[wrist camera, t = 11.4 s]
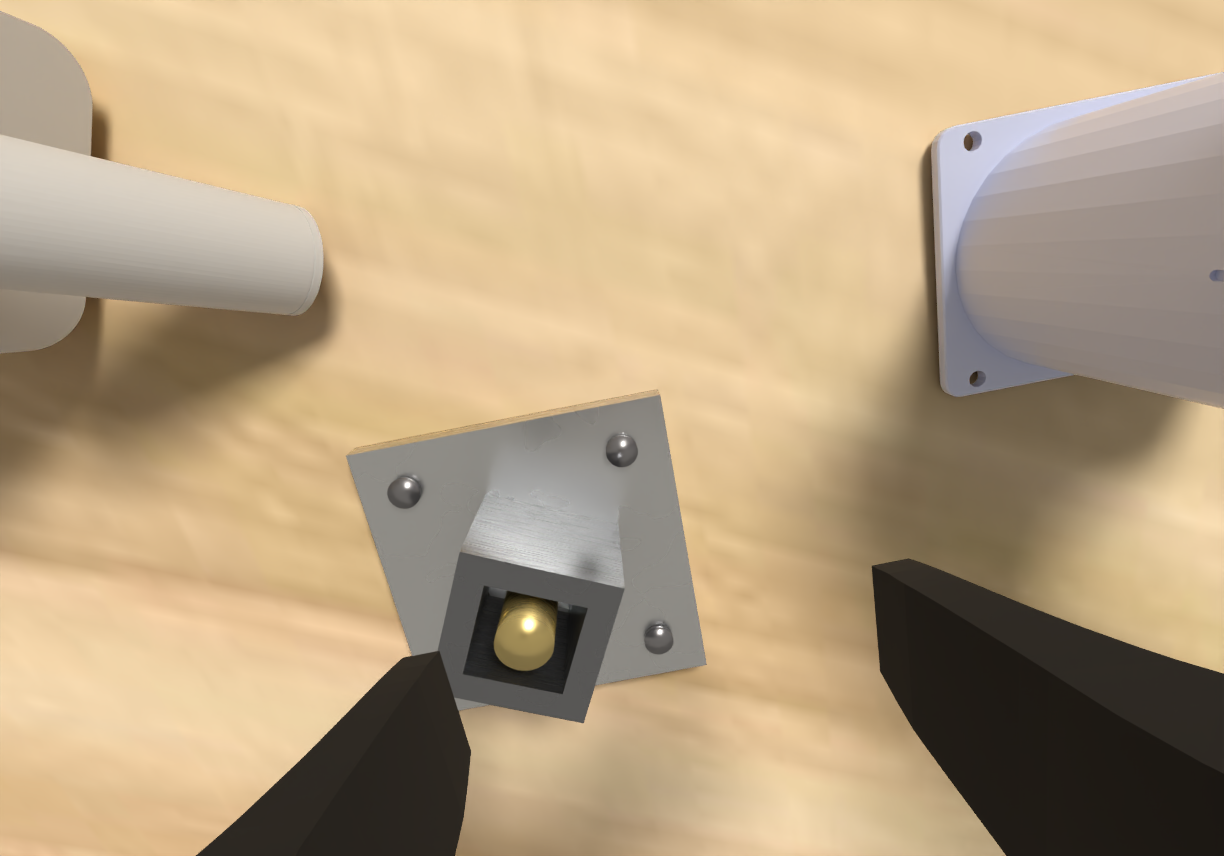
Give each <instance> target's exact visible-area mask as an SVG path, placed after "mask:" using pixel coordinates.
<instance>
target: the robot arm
mask: <svg viewBox="0 0 1224 856" xmlns="http://www.w3.org/2000/svg"><path fill="white" fill-rule="evenodd" d="M967 134H969V135H970V136H971V137H972V139H973V146H972V148H971V150H970V151H968V150H967V149H965V147H964V144H963V142H964V138H965V136H966V135H967ZM931 160H932V186H933V212H934V238H935V264H936V290H937V316H938V342H939V368H940V384H941V388H942V389H943V391H944V392H945V393H947V394H950V395H952V396H955V397H962V396H968V395H973V394H978V393H983V392H988V391H994V390H999V389H1004V388H1009V387H1015V386H1020V385H1025V384H1030V383H1035V382H1041V381H1046V380H1051V379H1056V378H1061V377H1067V376H1072V375H1079V376H1084V377H1088V378H1092V379H1097V380H1101V381H1105V382H1110V383H1114V384H1118V385H1123V386H1127V387H1131V388H1136V389H1140V390H1144V391H1149V392H1153V393H1157V394H1162V395H1166V396H1170V397H1175V398H1179V399H1183V400H1188V401H1192V402H1196V403H1201V404H1205V405H1209V406H1213V407H1218V408H1222V409H1224V72H1221V73H1216V74H1211V75H1206V76H1201V77H1196V78H1191V79H1186V80H1181V81H1176V82H1171V83H1166V84H1161V85H1156V86H1151V87H1147V88H1142V89H1137V90H1132V91H1127V92H1122V93H1117V94H1112V95H1107V96H1102V97H1097V98H1092V99H1087V100H1082V101H1077V102H1072V103H1067V104H1062V105H1057V106H1052V107H1047V108H1042V109H1037V110H1032V111H1027V112H1022V113H1017V114H1012V115H1007V116H1002V117H997V118H992V119H987V120H982V121H977V122H972V123H967V124H962V125H957V126H953V127H950V128H947V129H945V130H943V131H941V132H940V133H939V134H938V135H937V136H936V137H935V139H934V140H933V142H932V148H931ZM976 371H977V373H978V378H977V380H976V381H975V382H974V383H972V384H970V381H969V379H970V376H971V375H972V373H973V372H976ZM872 574H873V587H874V599H875V612H876V624H877V637H878V649H879V662H880V672H881V674H882V675H883V677H884V679H885V681H886V683H887V684H888V686H889V688H890V690H891V692H892V693H893V695H894V697H895V699H896V701H897V702H898V704H899V706H900V708H901V709H902V711H903V713H904V714H905V716H906V718H907V719H908V721H909V723H910V725H911V726H912V728H913V730H914V731H915V732H916V734H917V735H918V737H919V738H920V739H921V741H922V742H923V744H924V745H925V746H926V748H927V749H928V750H929V752H930V753H931V755H932V756H933V757H934V759H935V760H936V761H937V763H938V764H939V765H940V767H941V768H942V770H943V771H944V772H945V774H946V775H947V776H948V778H949V779H950V780H951V782H952V783H953V784H954V786H955V787H956V788H957V790H958V791H959V793H960V794H961V795H962V797H963V798H964V799H965V801H966V802H967V803H968V805H969V806H970V807H971V809H972V810H973V811H974V813H975V814H976V815H977V817H978V818H979V819H980V821H981V822H982V823H983V825H984V826H985V827H986V829H987V830H988V832H989V833H990V834H991V836H992V837H993V838H994V840H995V841H996V842H997V844H998V845H999V846H1000V848H1001V849H1002V850H1003V852H1004V853H1005V854H1006V856H1224V674H1223V673H1219V672H1216V671H1213V670H1209V669H1206V668H1203V667H1199V666H1196V665H1193V664H1189V663H1186V662H1182V661H1179V660H1176V659H1173V658H1170V657H1167V656H1164V655H1160V654H1157V653H1154V652H1151V651H1148V650H1145V649H1142V648H1139V647H1136V646H1134V645H1131V644H1128V643H1125V642H1122V641H1120V640H1117V639H1114V638H1111V637H1108V636H1106V635H1103V634H1100V633H1097V632H1094V631H1092V630H1089V629H1086V628H1083V627H1080V626H1078V625H1075V624H1073V623H1070V622H1067V621H1065V620H1062V619H1059V618H1057V617H1054V616H1052V615H1049V614H1047V613H1044V612H1042V611H1039V610H1036V609H1034V608H1031V607H1029V606H1026V605H1024V604H1022V603H1019V602H1017V601H1014V600H1012V599H1009V598H1007V597H1004V596H1002V595H1000V594H997V593H995V592H992V591H990V590H987V589H985V588H983V587H980V586H978V585H975V584H973V583H971V582H968V581H966V580H963V579H961V578H959V577H956V576H954V575H951V574H949V573H946V572H944V571H941V570H939V569H936V568H934V567H931V566H929V565H926V564H923V563H920V562H917V561H914V560H911V559H904V560H899V561H894V562H889V563H884V564H879V565H874V566H872ZM470 756H471V750H470V747H469V743H468V740H467V737H466V734H465V731H464V727H463V724H462V721H461V718H460V715H459V711H458V708H457V705H456V702H455V699H454V696H453V692H452V689H451V686H450V683H449V680H448V676H447V673H446V670H445V667H444V664H443V660H442V657H441V654H440V651H435V652H430V653H425V654H420V655H415V656H410V657H404V658H402V659H401V660H400V661H399V662H398V663H397V664H396V665H394V666H393V667H392V668H391V669H390V670H389V671H388V672H387V673H386V674H385V675H384V676H383V677H382V678H381V679H380V680H379V681H378V682H377V683H376V684H375V685H374V686H373V687H372V688H371V689H370V690H369V691H368V692H367V693H366V694H365V695H364V696H363V697H362V698H361V699H360V700H359V701H358V702H357V703H356V704H355V706H354V707H353V708H352V709H351V710H350V711H349V712H348V713H347V714H346V715H345V716H344V717H343V718H342V719H341V720H340V721H339V722H338V723H337V724H336V725H335V726H334V727H333V728H332V729H331V730H330V731H329V732H328V733H327V734H326V735H325V736H324V737H323V738H322V739H321V740H320V741H319V742H318V743H317V744H316V745H315V746H314V747H313V748H312V749H311V750H310V751H309V752H308V753H307V754H306V755H305V756H304V757H303V758H302V759H301V760H300V761H299V762H298V763H297V764H296V765H295V766H294V767H293V768H292V769H290V770H289V771H288V772H287V773H286V774H285V775H284V776H283V777H282V778H281V779H280V780H279V781H278V782H277V783H276V784H275V785H274V786H273V787H271V788H270V789H269V790H268V791H267V792H266V793H265V794H264V795H263V796H262V797H261V798H260V799H259V800H258V801H257V802H256V803H255V804H254V805H252V806H251V807H250V808H249V809H248V810H247V811H246V812H245V813H244V814H243V815H242V816H241V817H240V818H239V819H237V820H236V821H235V822H234V823H233V824H232V825H231V826H230V827H228V828H227V829H226V830H225V831H224V832H223V833H222V834H221V835H219V836H218V837H217V838H216V839H215V840H214V841H212V842H211V843H210V844H209V845H208V846H207V847H206V848H204V849H203V850H202V851H201V852H200V853H198V854H197V855H196V856H455V853H456V848H457V844H458V840H459V835H460V831H461V826H462V822H463V817H464V809H465V802H466V794H467V786H468V776H469V766H470Z"/></svg>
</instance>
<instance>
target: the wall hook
mask: <svg viewBox="0 0 1224 856" xmlns="http://www.w3.org/2000/svg"><path fill="white" fill-rule="evenodd" d="M91 138H92V95H91V91H90V87H89V84H88V81H87V78H86V76H85V74H84V72H83V70H82V68H81V66H80V65H79V63H78V61H77V60H76V59H75V57H74V56H73V55H72V54H71V52H70V51H69V50H68V49H67V48H66V47H65V46H64V45H63V44H62V43H61V42H60V41H59V40H58V39H56V38H55V37H54V36H52V35H51V34H50V33H48V32H47V31H45V30H44V29H42V28H40V27H38V26H36V25H33V24H31V23H29V22H26V21H24V20H21V19H19V18H16V17H14V16H12V15H9V14H7V13H4V12H2V11H0V353H13V352H25V351H34V350H39V349H43V348H46V347H49V346H51V345H53V344H55V343H57V342H59V341H61V340H62V339H63V338H65V337H66V336H67V335H68V334H69V333H70V332H71V331H72V330H73V329H74V328H75V327H76V325H77V324H78V323H79V321H80V319H81V317H82V314H83V312H84V308H85V303H86V297H92V298H103V299H114V300H125V301H136V302H148V303H159V304H170V305H181V306H192V307H203V308H214V309H225V310H237V311H248V312H259V313H270V314H281V315H292V316H297V315H300V314H302V313H304V312H305V311H307V310H308V309H309V307H310V306H311V305H312V303H313V302H314V300H315V298H316V296H317V294H318V291H319V288H320V284H321V280H322V274H323V257H324V255H323V245H322V239H321V235H320V232H319V229H318V226H317V224H316V222H315V220H314V218H313V217H312V215H311V214H310V213H309V212H308V211H307V210H306V209H304V208H302V207H299V206H295V205H291V204H286V203H282V202H278V201H274V200H270V199H266V198H262V197H257V196H253V195H249V194H245V193H241V192H237V191H233V190H228V189H224V188H220V187H216V186H212V185H208V184H204V183H200V182H195V181H191V180H187V179H183V178H179V177H175V176H171V175H166V174H162V173H158V172H154V171H150V170H146V169H142V168H137V167H133V166H129V165H125V164H121V163H117V162H113V161H108V160H104V159H100V158H96V157H92V156H91Z"/></svg>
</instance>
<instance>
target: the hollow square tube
mask: <svg viewBox="0 0 1224 856" xmlns="http://www.w3.org/2000/svg"><path fill="white" fill-rule="evenodd" d="M489 587H493V588H498V589H502V590H507V591H512V592H516V593H521V594H525V595H530V596H535V597H539V598H544V599H548V600H553V601H558V602H562V603H567V604H570V608H569V611H568V612H564V611H559V610H558V612H557V622H556V633H555V643H554V651H553V654H552V656H551V657H550V659H549V660H548V661H547V662H546V663H545V664H544V665H542V666H541V667H539V668H537V669H533V670H528V671H521V670H515V669H512V668H510V667H508V666H506V665H505V664H503V663H502V662H501V661H500V660H499V658H498V657H497V655H496V653H495V650H494V639H495V635H496V631H497V627H498V623H499V619H500V615H501V612H502V608H503V604H504V600H505V599H504V598H499V597H494V596H490V595H488V591H489ZM624 590H625V585H624V575H623V566H622V556H621V546H620V536H619V527H618V524H616V523H612V522H607V521H603V520H599V519H594V518H590V517H586V516H582V515H577V514H573V513H569V512H565V511H560V510H556V509H552V508H547V507H543V506H539V505H535V504H530V503H526V502H522V501H518V500H513V499H509V498H505V497H500V496H496V495H492V494H488V493H486V495H485V497H484V499H483V501H482V504H481V506H480V508H479V510H478V512H477V515H476V517H475V519H474V521H473V523H472V525H471V528H470V530H469V532H468V534H467V536H466V539H465V541H464V543H463V545H462V547H461V550H460V552H459V556H458V561H457V565H456V570H455V574H454V579H453V583H452V588H451V592H450V597H449V601H448V606H447V610H446V615H445V619H444V624H443V628H442V633H441V637H440V642H439V646H438V651H440V654H441V657H442V660H443V664H444V667H445V670H446V673H447V676H448V680H449V683H450V686H451V689H452V692H453V696H454V698H459V699H464V700H469V701H474V702H479V703H484V704H489V705H494V706H499V707H504V708H509V709H514V710H519V711H524V712H529V713H535V714H540V715H545V716H550V717H555V718H560V719H565V720H570V721H575V722H580V723H584V720H585V717H586V713H587V710H588V707H589V704H590V700H591V697H592V694H593V691H594V687H595V684H596V681H597V678H598V674H599V671H600V668H601V665H602V661H603V658H604V655H605V652H606V648H607V645H608V642H609V639H610V635H611V632H612V629H613V626H614V622H615V619H616V616H617V613H618V609H619V606H620V603H621V600H622V596H623V593H624Z"/></svg>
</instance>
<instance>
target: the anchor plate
mask: <svg viewBox="0 0 1224 856" xmlns="http://www.w3.org/2000/svg"><path fill="white" fill-rule="evenodd" d="M346 457H347V460H348V463H349V466H350V469H351V472H352V475H353V478H354V481H355V484H356V488H357V491H358V494H359V497H360V500H361V503H362V506H363V509H364V512H365V515H366V518H367V521H368V524H369V527H370V530H371V533H372V536H373V539H374V542H375V545H376V548H377V551H378V554H379V557H380V560H381V563H382V566H383V569H384V572H385V575H386V578H387V581H388V584H389V587H390V590H391V593H392V596H393V599H394V602H395V605H396V608H397V611H398V614H399V617H400V620H401V623H402V626H403V629H404V632H405V635H406V638H407V641H408V644H409V647H410V650H411V653H412V656H415V655H420V654H425V653H430V652H435V651H438V646H439V642H440V637H441V633H442V628H443V624H444V619H445V615H446V610H447V606H448V601H449V597H450V592H451V588H452V583H453V579H454V574H455V570H456V565H457V561H458V556H459V552H460V550H461V547H462V545H463V543H464V541H465V539H466V536H467V534H468V532H469V530H470V528H471V525H472V523H473V521H474V519H475V517H476V515H477V512H478V510H479V508H480V506H481V504H482V501H483V499H484V497H485V495H486V493H488V494H492V495H496V496H500V497H505V498H509V499H513V500H518V501H522V502H526V503H530V504H535V505H539V506H543V507H547V508H552V509H556V510H560V511H565V512H569V513H573V514H577V515H582V516H586V517H590V518H594V519H599V520H603V521H607V522H612V523H616V524H618V527H619V536H620V546H621V556H622V566H623V575H624V585H625V590H624V593H623V596H622V600H621V603H620V606H619V609H618V613H617V616H616V619H615V622H614V626H613V629H612V632H611V635H610V639H609V642H608V645H607V648H606V652H605V655H604V658H603V661H602V665H601V668H600V671H599V674H598V678H597V681H596V684H595V685H600V684H605V683H611V682H616V681H622V680H627V679H632V678H638V677H643V676H649V675H654V674H659V673H665V672H670V671H676V670H681V669H686V668H692V667H697V666H703V665H707V664H706V658H705V652H704V647H703V641H702V635H701V629H700V623H699V618H698V612H697V606H696V600H695V594H694V589H693V583H692V577H691V571H690V565H689V559H688V554H687V548H686V542H685V536H684V530H683V525H682V519H681V513H680V507H679V501H678V496H677V490H676V484H675V478H674V472H673V467H672V461H671V455H670V449H669V443H668V438H667V432H666V426H665V420H664V414H663V408H662V403H661V397H660V394H659V392H658V390H653V391H647V392H642V393H637V394H632V395H627V396H622V397H616V398H611V399H606V400H601V401H596V402H591V403H585V404H580V405H575V406H570V407H565V408H560V409H554V410H549V411H544V412H539V413H534V414H529V415H524V416H518V417H513V418H508V419H503V420H498V421H493V422H487V423H482V424H477V425H472V426H467V427H462V428H456V429H451V430H446V431H441V432H436V433H431V434H425V435H420V436H415V437H410V438H405V439H400V440H395V441H389V442H384V443H379V444H374V445H369V446H364V447H358V448H355V449H354V450H353V451H351V452H350V453H349V454H348V455H346ZM488 595H490V596H494V597H499V598H504V599H505V600H504V604H503V608H502V612H501V615H500V619H499V623H498V627H497V631H496V635H495V639H494V650H495V653H496V655H497V657H498V658H499V660H500V661H501V662H502V663H503V664H505V665H506V666H508V667H510V668H512V669H515V670H521V671H528V670H533V669H537V668H539V667H541V666H542V665H544V664H545V663H546V662H547V661H548V660H549V659H550V657H551V656H552V654H553V651H554V643H555V633H556V622H557V612H558V610H559V611H564V612H568V611H569V608H570V604H567V603H562V602H558V601H553V600H548V599H544V598H539V597H535V596H530V595H525V594H521V593H516V592H512V591H507V590H502V589H498V588H493V587H489V591H488ZM454 699H455V702H456V705H457V708H458V711H459V710H465V709H470V708H475V707H481V706H486V705H489V704H484V703H479V702H474V701H469V700H464V699H459V698H454Z"/></svg>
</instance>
